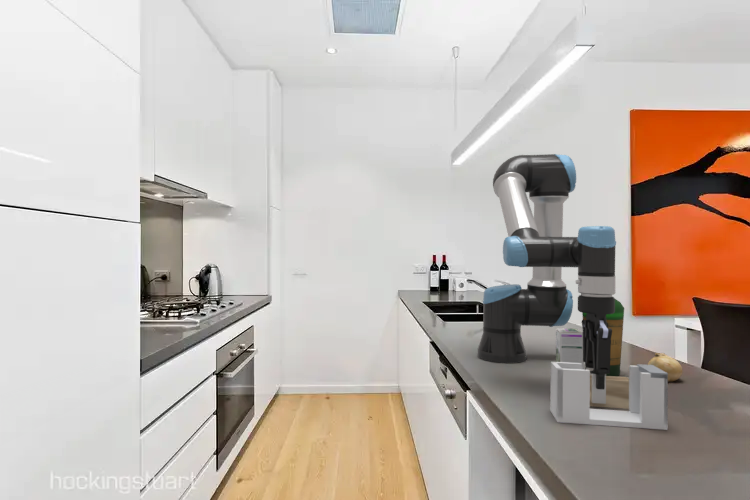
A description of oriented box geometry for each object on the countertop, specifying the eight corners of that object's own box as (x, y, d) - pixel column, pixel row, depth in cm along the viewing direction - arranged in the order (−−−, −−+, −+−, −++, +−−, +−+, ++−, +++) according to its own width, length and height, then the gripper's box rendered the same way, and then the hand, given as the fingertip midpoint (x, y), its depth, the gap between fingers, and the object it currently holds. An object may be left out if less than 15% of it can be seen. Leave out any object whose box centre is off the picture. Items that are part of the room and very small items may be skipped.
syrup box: (585, 391, 109) (585, 332, 109) (559, 390, 111) (559, 331, 111) (579, 385, 115) (579, 328, 115) (554, 383, 116) (555, 327, 116)
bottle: (583, 377, 122) (584, 274, 122) (579, 368, 132) (580, 273, 132) (628, 381, 119) (628, 275, 119) (620, 371, 129) (620, 273, 129)
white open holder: (550, 410, 96) (550, 360, 96) (652, 417, 92) (652, 364, 92) (557, 422, 89) (557, 367, 89) (667, 429, 86) (667, 373, 86)
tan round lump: (679, 377, 123) (679, 351, 123) (685, 385, 116) (685, 357, 116) (645, 374, 126) (645, 349, 126) (649, 381, 119) (649, 354, 119)
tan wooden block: (560, 399, 103) (560, 373, 103) (626, 403, 101) (626, 377, 101) (564, 404, 100) (564, 377, 100) (632, 409, 98) (632, 381, 98)
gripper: (568, 291, 109) (568, 388, 109) (589, 298, 93) (588, 411, 93) (601, 292, 108) (601, 389, 108) (628, 299, 92) (628, 414, 92)
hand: (595, 399), depth 100 cm, fingers closed on tan wooden block, 3 cm apart
